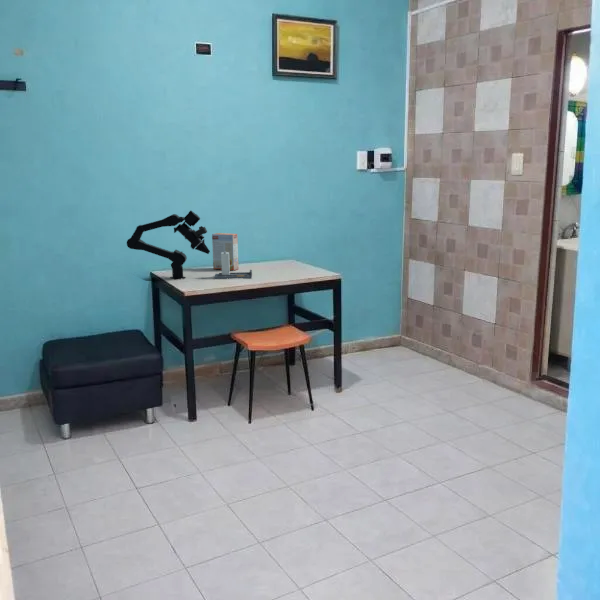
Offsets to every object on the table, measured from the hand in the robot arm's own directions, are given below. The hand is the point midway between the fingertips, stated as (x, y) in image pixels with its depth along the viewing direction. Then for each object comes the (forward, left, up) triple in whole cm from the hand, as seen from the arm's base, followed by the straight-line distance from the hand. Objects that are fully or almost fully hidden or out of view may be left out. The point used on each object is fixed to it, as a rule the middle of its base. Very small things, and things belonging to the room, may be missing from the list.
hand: (209, 252), depth 350 cm
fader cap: (+4, +7, -12) cm, 15 cm away
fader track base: (+6, +11, -14) cm, 19 cm away
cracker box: (-19, +19, -14) cm, 30 cm away
